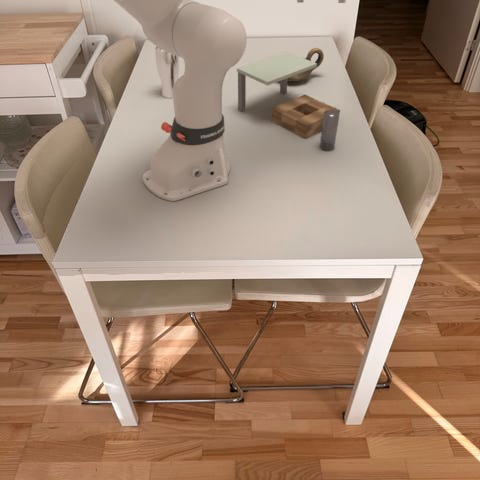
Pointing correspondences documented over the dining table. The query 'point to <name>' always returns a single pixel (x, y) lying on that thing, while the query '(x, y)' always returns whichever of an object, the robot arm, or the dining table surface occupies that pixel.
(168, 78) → the cream rounded piece
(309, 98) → the socket plate
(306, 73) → the brown rounded scoop
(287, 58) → the pale green platform
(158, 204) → the dining table surface
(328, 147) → the peg
